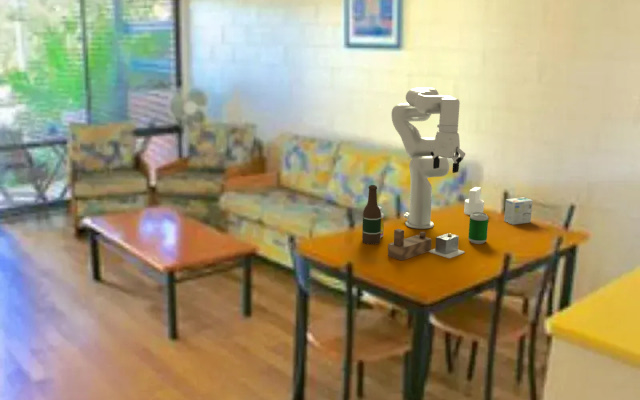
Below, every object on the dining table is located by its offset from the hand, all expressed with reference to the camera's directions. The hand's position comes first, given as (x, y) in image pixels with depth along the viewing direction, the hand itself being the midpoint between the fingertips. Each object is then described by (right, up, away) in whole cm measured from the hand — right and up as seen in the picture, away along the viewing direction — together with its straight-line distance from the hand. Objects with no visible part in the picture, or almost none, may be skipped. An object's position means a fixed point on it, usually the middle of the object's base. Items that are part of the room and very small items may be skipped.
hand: (445, 170), depth 275 cm
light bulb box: (+40, -23, +36) cm, 58 cm away
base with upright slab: (+23, -19, +49) cm, 57 cm away
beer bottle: (-30, -30, +5) cm, 43 cm away
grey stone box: (-1, -32, -7) cm, 33 cm away
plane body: (-16, -33, -9) cm, 38 cm away
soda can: (+15, -30, +7) cm, 34 cm away
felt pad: (-1, -33, -7) cm, 34 cm away
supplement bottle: (-28, -28, +12) cm, 41 cm away
